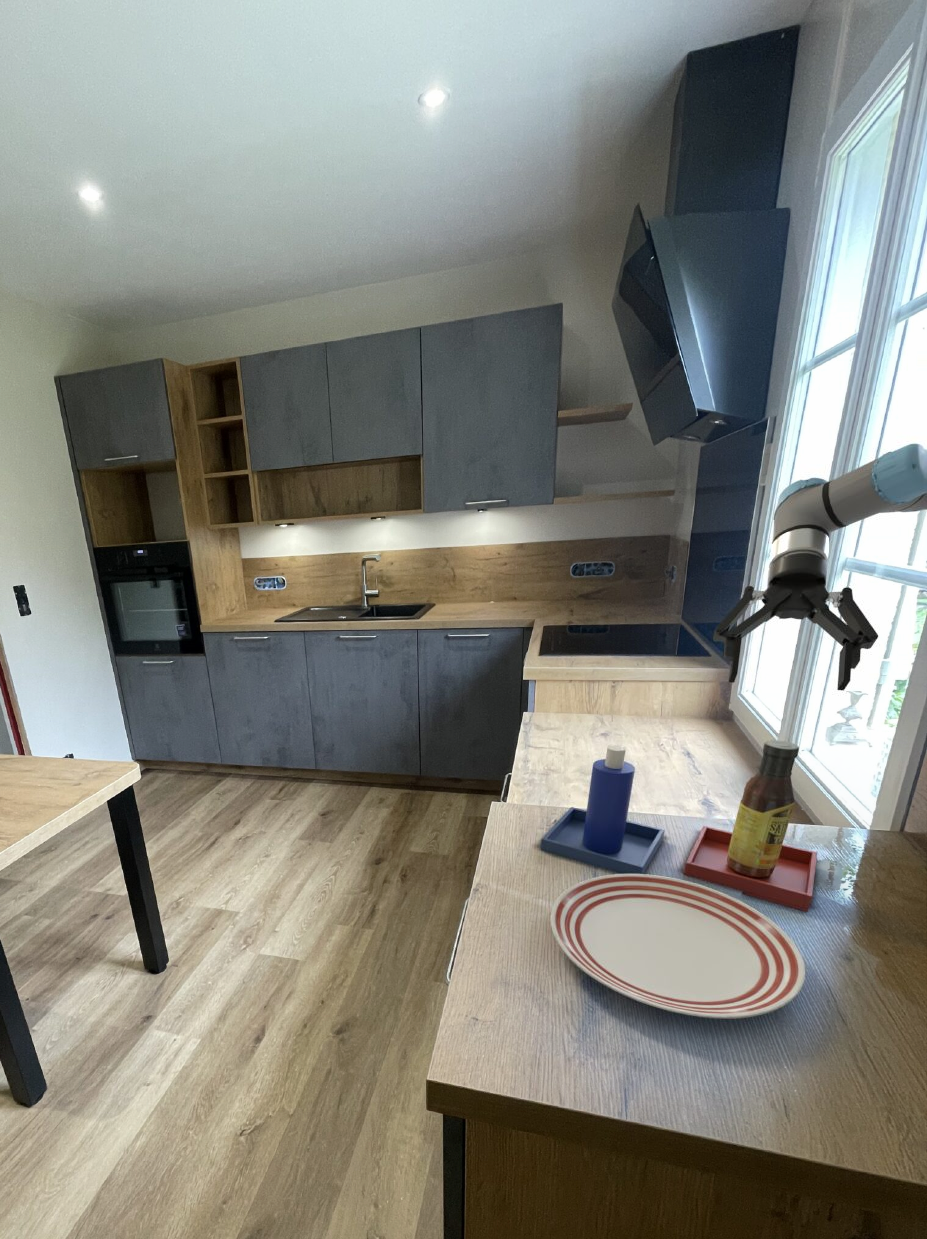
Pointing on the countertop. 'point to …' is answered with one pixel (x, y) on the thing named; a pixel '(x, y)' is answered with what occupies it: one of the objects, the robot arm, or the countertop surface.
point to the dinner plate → (677, 946)
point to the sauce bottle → (764, 813)
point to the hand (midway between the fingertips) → (786, 681)
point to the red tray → (782, 887)
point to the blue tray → (629, 860)
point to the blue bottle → (608, 802)
